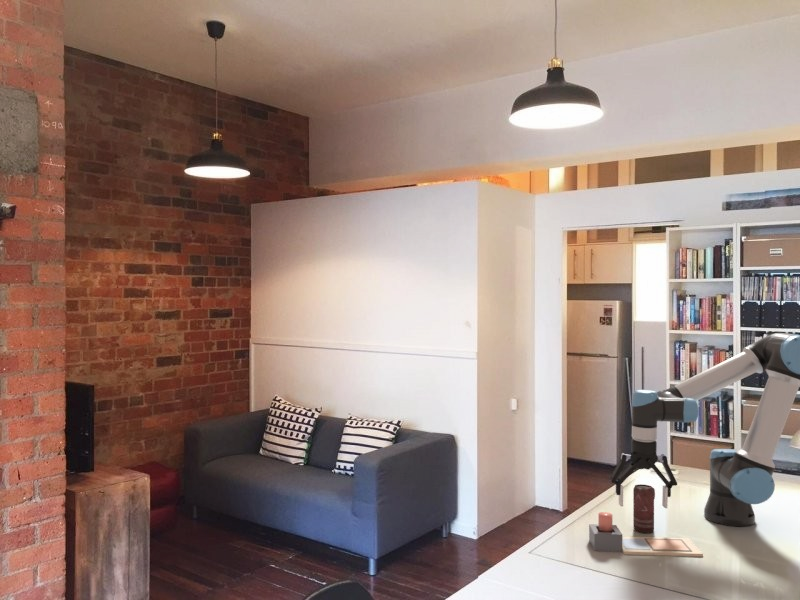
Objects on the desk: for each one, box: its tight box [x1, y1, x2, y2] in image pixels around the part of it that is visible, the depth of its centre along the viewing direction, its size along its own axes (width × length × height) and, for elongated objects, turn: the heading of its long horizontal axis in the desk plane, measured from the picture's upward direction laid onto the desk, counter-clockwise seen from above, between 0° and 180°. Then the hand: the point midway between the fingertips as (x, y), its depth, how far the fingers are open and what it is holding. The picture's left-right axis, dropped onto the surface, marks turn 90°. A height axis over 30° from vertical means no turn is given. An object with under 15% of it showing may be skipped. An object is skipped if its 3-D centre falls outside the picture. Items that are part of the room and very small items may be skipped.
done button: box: [597, 511, 613, 532], centre depth 199 cm, size 4×4×4 cm
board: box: [622, 536, 704, 558], centre depth 197 cm, size 22×12×1 cm, turn 85°
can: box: [632, 484, 656, 534], centre depth 211 cm, size 6×6×14 cm
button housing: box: [588, 523, 623, 553], centre depth 199 cm, size 8×8×5 cm
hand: (642, 506), depth 211 cm, fingers open, 13 cm apart
